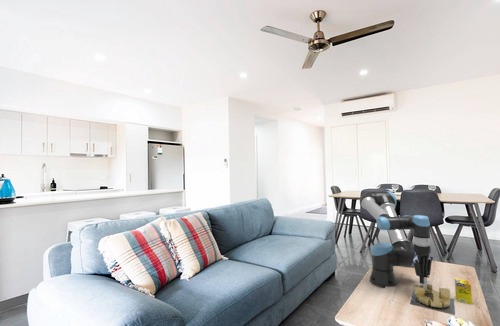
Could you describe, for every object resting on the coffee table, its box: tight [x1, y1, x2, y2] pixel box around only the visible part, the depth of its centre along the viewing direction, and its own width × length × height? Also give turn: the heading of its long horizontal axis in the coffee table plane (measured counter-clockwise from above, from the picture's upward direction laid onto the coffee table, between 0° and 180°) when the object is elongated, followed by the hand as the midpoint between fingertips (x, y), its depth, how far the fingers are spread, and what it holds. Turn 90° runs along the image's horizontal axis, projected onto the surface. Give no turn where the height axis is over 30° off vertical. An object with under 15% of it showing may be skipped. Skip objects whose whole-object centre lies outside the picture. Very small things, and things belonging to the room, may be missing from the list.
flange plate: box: [409, 289, 456, 316], centre depth 132 cm, size 18×18×4 cm
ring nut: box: [413, 280, 452, 308], centre depth 132 cm, size 15×15×7 cm
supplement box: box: [454, 278, 473, 305], centre depth 132 cm, size 6×6×11 cm
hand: (423, 289), depth 137 cm, fingers closed
